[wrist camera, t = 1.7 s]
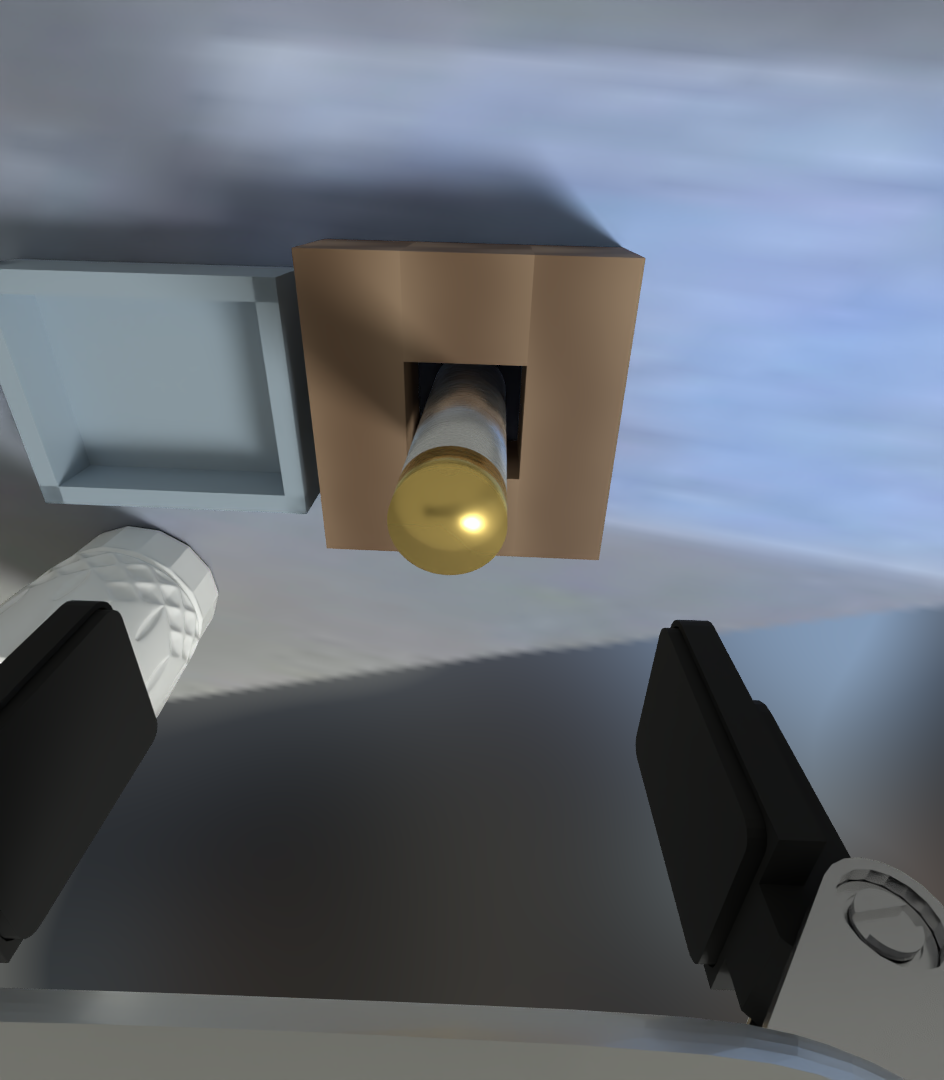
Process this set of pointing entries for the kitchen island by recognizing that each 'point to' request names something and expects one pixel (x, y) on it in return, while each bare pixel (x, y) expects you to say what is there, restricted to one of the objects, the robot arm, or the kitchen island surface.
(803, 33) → the kitchen island surface
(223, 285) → the tray
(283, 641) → the kitchen island surface
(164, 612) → the white cup
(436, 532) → the pin
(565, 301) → the socket block
